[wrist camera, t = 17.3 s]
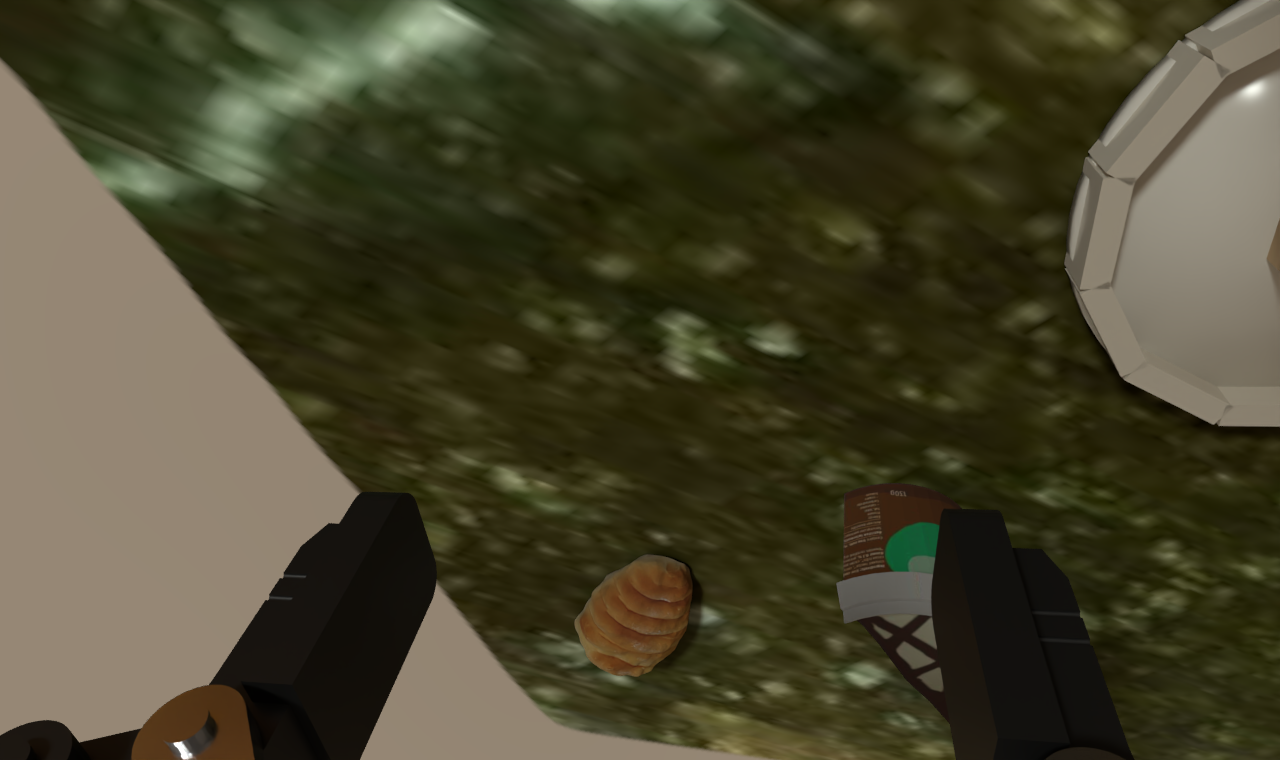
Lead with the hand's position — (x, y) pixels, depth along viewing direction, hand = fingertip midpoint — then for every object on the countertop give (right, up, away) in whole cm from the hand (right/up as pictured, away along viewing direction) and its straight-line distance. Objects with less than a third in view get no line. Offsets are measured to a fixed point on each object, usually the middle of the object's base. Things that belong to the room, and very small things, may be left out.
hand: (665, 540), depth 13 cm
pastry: (-1, -12, +43) cm, 45 cm away
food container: (+17, -6, +36) cm, 40 cm away
